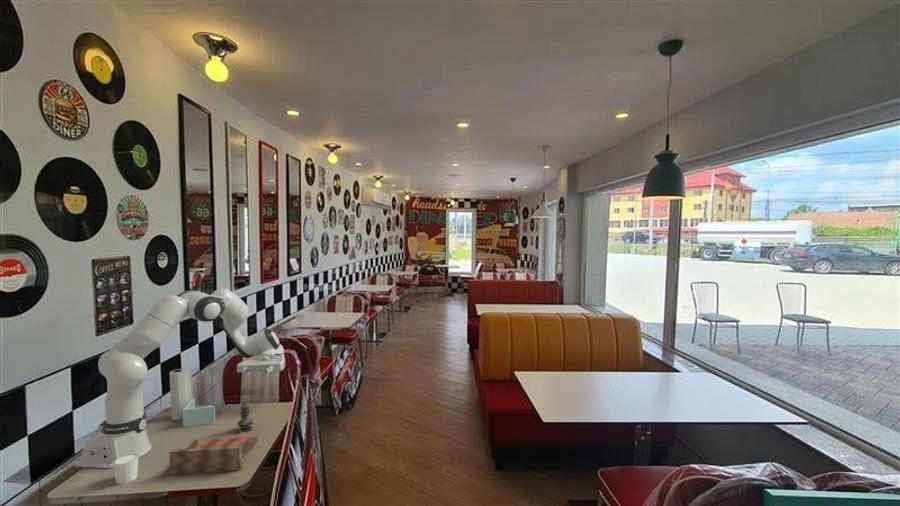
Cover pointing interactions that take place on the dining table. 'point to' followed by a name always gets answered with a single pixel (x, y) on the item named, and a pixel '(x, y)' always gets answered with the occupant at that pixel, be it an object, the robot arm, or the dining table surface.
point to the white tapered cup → (125, 468)
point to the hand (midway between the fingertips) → (255, 372)
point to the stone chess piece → (245, 419)
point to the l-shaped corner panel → (197, 414)
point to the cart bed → (212, 455)
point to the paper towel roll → (180, 391)
